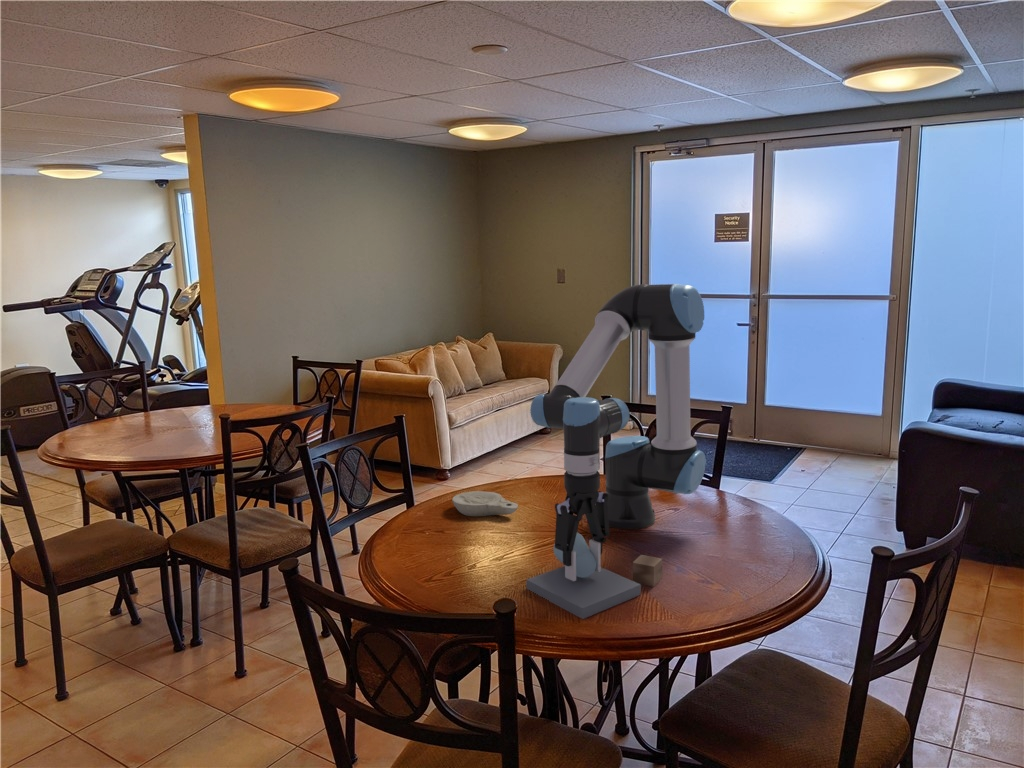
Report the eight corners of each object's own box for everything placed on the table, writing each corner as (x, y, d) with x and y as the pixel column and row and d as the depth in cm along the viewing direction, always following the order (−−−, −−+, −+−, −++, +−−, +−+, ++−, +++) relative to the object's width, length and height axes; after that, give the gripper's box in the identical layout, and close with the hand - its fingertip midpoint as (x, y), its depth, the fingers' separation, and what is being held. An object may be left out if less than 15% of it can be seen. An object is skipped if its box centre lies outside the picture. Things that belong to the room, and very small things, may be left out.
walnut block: (632, 583, 165) (632, 562, 164) (641, 575, 169) (641, 554, 168) (653, 588, 162) (654, 566, 161) (662, 579, 166) (662, 558, 165)
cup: (561, 578, 158) (548, 558, 168) (593, 586, 160) (578, 566, 170) (573, 545, 157) (559, 527, 167) (605, 554, 159) (589, 535, 169)
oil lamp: (531, 513, 212) (531, 497, 211) (503, 529, 200) (503, 511, 199) (472, 502, 223) (471, 486, 222) (442, 516, 211) (442, 499, 211)
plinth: (526, 590, 162) (526, 579, 162) (583, 569, 172) (583, 559, 172) (582, 620, 148) (582, 608, 148) (640, 595, 158) (640, 584, 158)
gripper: (559, 484, 147) (560, 593, 151) (627, 466, 159) (627, 567, 163) (535, 476, 153) (537, 581, 157) (602, 459, 165) (603, 557, 168)
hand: (583, 574), depth 160 cm, fingers closed on cup, 6 cm apart
